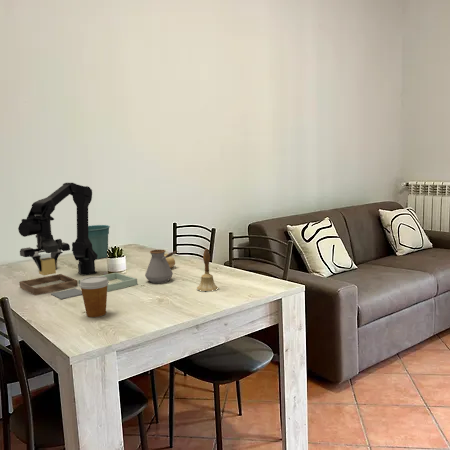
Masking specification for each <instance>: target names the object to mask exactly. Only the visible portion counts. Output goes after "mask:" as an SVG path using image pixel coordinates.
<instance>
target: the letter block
mask: <svg viewBox="0 0 450 450" xmlns="http://www.w3.org/2000/svg"><path fill="white" fill-rule="evenodd" d="M40 261H41V268H42V271H41V272H40V271H39V270H38V274H40V275H41V276H50V275H56V273H57V271H56V269H57V268H56V269H55V259H53V258H50V257H49V258H43V259H40Z"/></svg>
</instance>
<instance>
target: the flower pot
mask: <svg viewBox="0 0 450 450" xmlns="http://www.w3.org/2000/svg"><path fill="white" fill-rule="evenodd" d="M110 228H111V225H107V224H96V225H95V224H93V225H92V224H91V225H88V238H89V240H90V242H91V243H92V249H93V251H94V252H95V253H96V254H97V255H98V256H97V260H100V259H102V258H103V259H105V258H107V257H108V256H107V250H108V251H109V235H110Z"/></svg>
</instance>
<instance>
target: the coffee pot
mask: <svg viewBox="0 0 450 450" xmlns="http://www.w3.org/2000/svg"><path fill="white" fill-rule="evenodd" d="M149 253H150V255H151V258H150V260H149V263H148V266H147V269H146V271H145V275H144V276H145V278H146V279H147V281H149V282H150V283H152V284H163V283H168V282H169V281H170V280H171V279H172V278H173V275H174V273H173V271H172V268H170V266H169V264H168V262H167V260H166V258H167V257H170V256H172V257H173V256H176V257H178V256H179V254H178V255H176V254H177V253H179V251H178V250H174V251H172V252H170V253H167V254H168V255H166V256H164V254H166V250H165V249H153V250H150V251H149Z"/></svg>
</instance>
